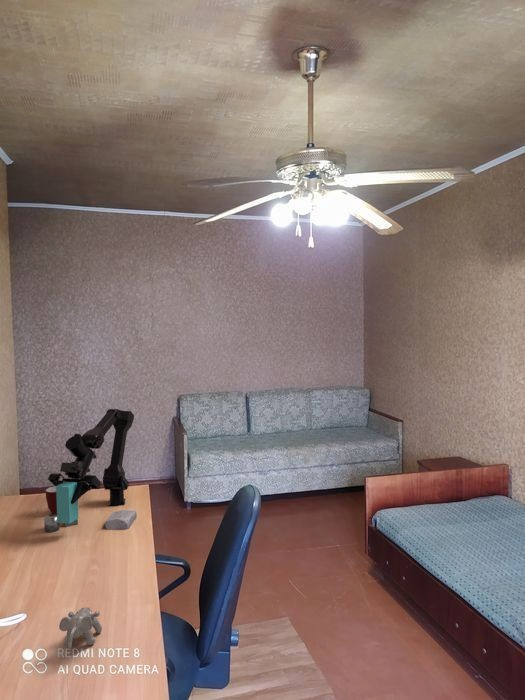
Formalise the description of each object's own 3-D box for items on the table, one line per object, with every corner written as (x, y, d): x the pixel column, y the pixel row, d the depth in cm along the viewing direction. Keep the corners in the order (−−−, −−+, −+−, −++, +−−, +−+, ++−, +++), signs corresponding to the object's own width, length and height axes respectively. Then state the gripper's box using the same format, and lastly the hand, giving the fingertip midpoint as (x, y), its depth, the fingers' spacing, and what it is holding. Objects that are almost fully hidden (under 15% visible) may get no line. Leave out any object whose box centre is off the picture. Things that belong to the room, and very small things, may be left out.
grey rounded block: (46, 528, 184) (45, 514, 184) (60, 526, 185) (59, 513, 185) (43, 533, 179) (42, 519, 179) (58, 531, 181) (57, 518, 180)
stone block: (104, 535, 182) (130, 529, 181) (101, 522, 181) (127, 516, 181) (114, 523, 193) (139, 518, 193) (111, 511, 193) (136, 506, 193)
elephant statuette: (101, 627, 123) (100, 596, 123) (103, 654, 112) (102, 620, 112) (61, 636, 120) (60, 605, 120) (59, 665, 109) (57, 630, 109)
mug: (46, 509, 203) (45, 485, 202) (67, 506, 206) (66, 482, 206) (46, 518, 193) (45, 493, 193) (68, 515, 196) (67, 490, 196)
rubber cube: (63, 523, 189) (63, 511, 188) (76, 520, 191) (75, 509, 191) (65, 527, 185) (64, 515, 184) (77, 524, 187) (77, 513, 187)
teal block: (66, 516, 179) (65, 481, 178) (78, 518, 178) (77, 482, 177) (57, 522, 174) (56, 486, 173) (69, 523, 173) (68, 487, 172)
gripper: (49, 451, 181) (30, 491, 171) (95, 453, 176) (78, 494, 166) (64, 466, 189) (46, 505, 179) (108, 468, 184) (92, 508, 174)
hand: (65, 503), depth 174 cm, fingers closed on teal block, 5 cm apart
